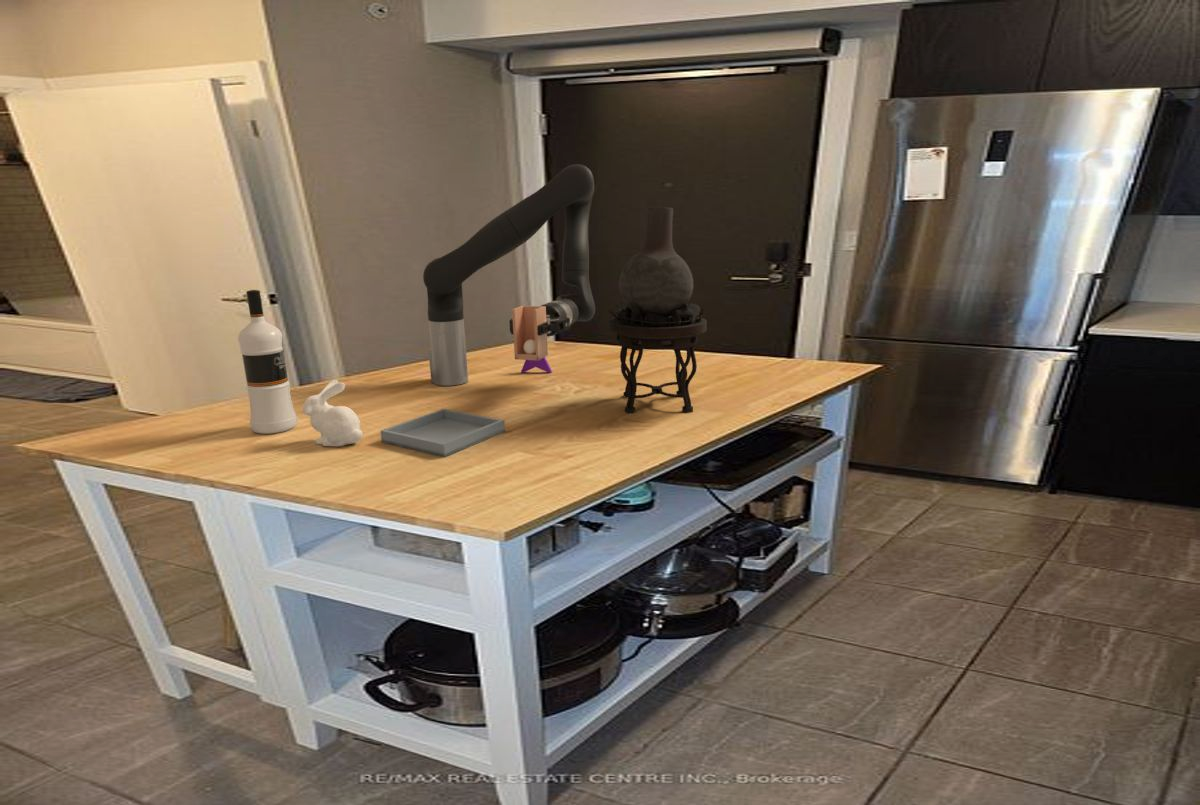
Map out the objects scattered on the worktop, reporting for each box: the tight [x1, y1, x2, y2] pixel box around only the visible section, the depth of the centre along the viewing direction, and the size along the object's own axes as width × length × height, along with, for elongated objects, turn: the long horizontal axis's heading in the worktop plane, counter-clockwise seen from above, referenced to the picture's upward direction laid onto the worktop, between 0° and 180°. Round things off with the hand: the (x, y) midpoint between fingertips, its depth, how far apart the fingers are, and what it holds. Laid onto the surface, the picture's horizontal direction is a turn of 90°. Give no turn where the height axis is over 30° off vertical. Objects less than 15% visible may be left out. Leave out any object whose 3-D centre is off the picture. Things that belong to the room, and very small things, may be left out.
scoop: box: [511, 305, 549, 361], centre depth 148 cm, size 6×6×11 cm
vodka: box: [237, 289, 298, 435], centre depth 143 cm, size 9×9×30 cm
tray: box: [380, 408, 506, 458], centre depth 139 cm, size 18×18×2 cm
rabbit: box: [302, 379, 364, 447], centre depth 136 cm, size 12×9×12 cm
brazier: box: [607, 206, 708, 414], centre depth 154 cm, size 22×22×45 cm
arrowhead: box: [520, 356, 553, 374], centre depth 192 cm, size 10×2×10 cm
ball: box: [524, 339, 536, 354], centre depth 148 cm, size 3×3×3 cm
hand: (525, 330), depth 146 cm, fingers closed on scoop, 5 cm apart
